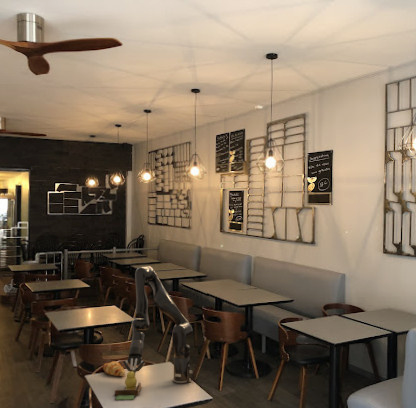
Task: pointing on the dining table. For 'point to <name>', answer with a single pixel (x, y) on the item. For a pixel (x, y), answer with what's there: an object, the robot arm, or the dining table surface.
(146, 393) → the dining table surface
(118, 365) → the croissant
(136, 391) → the corner fence
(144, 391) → the dining table surface
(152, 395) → the dining table surface
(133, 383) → the pear
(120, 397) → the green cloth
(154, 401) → the dining table surface
